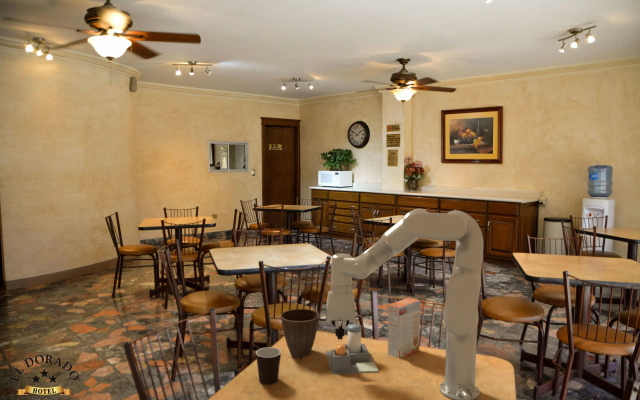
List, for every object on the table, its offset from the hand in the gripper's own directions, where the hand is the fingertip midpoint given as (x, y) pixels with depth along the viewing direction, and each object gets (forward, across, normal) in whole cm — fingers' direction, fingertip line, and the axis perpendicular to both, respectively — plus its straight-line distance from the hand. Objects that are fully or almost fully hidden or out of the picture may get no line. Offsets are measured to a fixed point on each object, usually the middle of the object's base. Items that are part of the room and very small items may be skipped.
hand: (339, 338), depth 168 cm
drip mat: (+12, -10, +1) cm, 16 cm away
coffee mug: (+12, +25, +5) cm, 28 cm away
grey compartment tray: (+12, -5, -5) cm, 14 cm away
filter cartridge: (+11, -7, -9) cm, 16 cm away
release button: (+7, -1, 0) cm, 7 cm away
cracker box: (+12, -28, -13) cm, 33 cm away
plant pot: (+12, +13, -15) cm, 23 cm away
